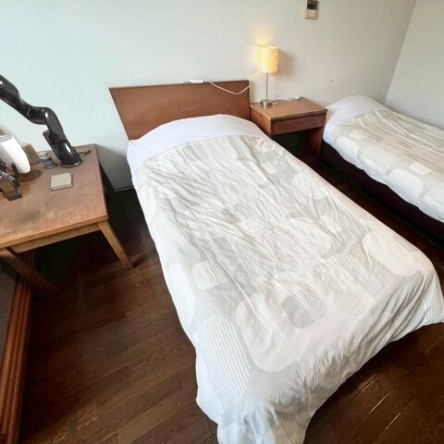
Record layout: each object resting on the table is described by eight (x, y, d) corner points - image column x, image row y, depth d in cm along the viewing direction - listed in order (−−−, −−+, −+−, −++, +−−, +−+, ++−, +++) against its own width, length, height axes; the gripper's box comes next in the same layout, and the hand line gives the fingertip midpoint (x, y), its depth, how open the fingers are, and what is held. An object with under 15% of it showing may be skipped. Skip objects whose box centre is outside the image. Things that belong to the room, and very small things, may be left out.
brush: (7, 191, 109) (-6, 177, 104) (22, 188, 112) (10, 174, 107) (8, 202, 105) (-5, 188, 100) (24, 198, 107) (11, 183, 102)
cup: (39, 168, 144) (13, 133, 130) (41, 177, 139) (14, 140, 124) (15, 174, 139) (-15, 137, 124) (16, 182, 133) (-15, 145, 119)
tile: (53, 179, 138) (51, 176, 137) (71, 175, 142) (69, 172, 141) (53, 190, 131) (50, 187, 130) (71, 186, 135) (69, 183, 134)
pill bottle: (48, 168, 145) (39, 156, 139) (44, 166, 147) (35, 153, 141) (57, 165, 148) (49, 152, 142) (53, 163, 150) (45, 150, 144)
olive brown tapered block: (35, 164, 147) (23, 146, 140) (28, 163, 147) (15, 146, 140) (42, 159, 151) (30, 142, 144) (35, 159, 151) (22, 142, 144)
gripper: (3, 144, 100) (30, 179, 112) (-49, 153, 92) (-14, 190, 104) (4, 152, 96) (32, 187, 108) (-51, 162, 89) (-13, 199, 100)
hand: (9, 188), depth 106 cm, fingers closed on brush, 5 cm apart
